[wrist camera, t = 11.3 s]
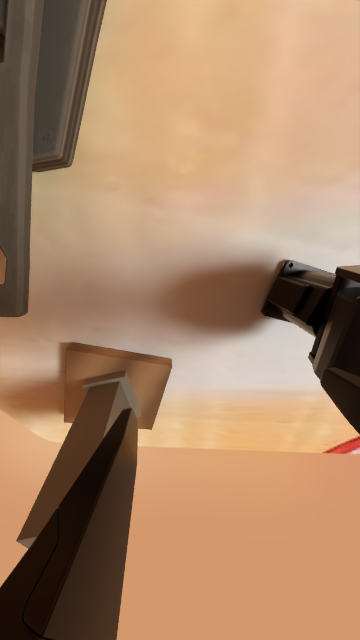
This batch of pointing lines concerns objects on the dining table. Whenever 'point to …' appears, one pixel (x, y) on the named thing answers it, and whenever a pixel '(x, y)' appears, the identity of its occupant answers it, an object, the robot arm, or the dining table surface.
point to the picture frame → (80, 445)
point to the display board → (99, 361)
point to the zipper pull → (38, 114)
